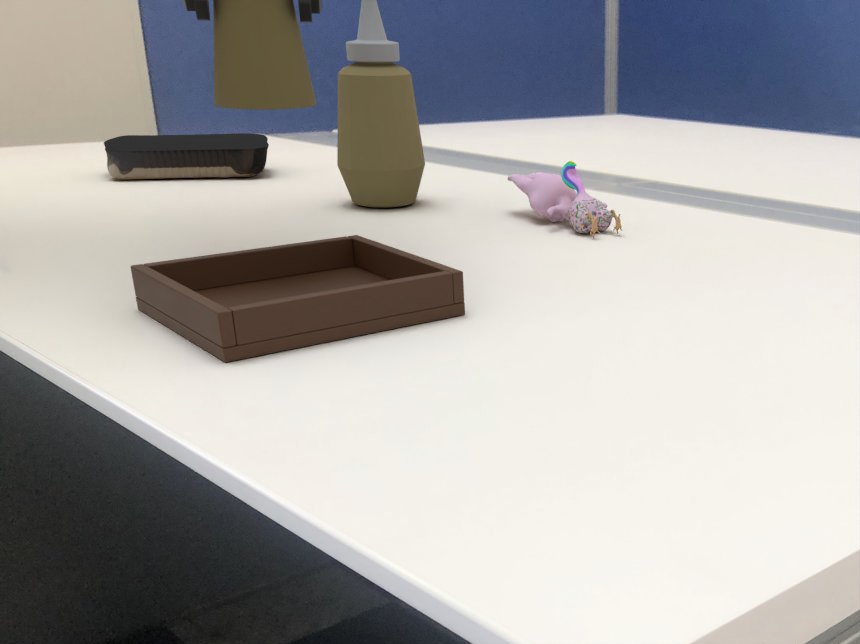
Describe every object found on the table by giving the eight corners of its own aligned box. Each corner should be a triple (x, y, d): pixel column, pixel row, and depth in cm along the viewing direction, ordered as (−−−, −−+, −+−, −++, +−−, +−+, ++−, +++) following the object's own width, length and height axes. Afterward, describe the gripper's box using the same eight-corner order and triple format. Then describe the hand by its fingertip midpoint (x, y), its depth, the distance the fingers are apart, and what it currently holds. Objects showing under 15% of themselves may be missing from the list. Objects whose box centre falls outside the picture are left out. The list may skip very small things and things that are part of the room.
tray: (225, 362, 58) (217, 313, 57) (137, 309, 67) (129, 265, 66) (465, 314, 68) (463, 271, 66) (360, 273, 77) (357, 234, 75)
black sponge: (272, 167, 120) (268, 133, 119) (268, 178, 113) (263, 142, 111) (117, 169, 116) (110, 134, 115) (101, 182, 109) (94, 145, 107)
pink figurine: (634, 247, 92) (543, 193, 102) (642, 180, 89) (547, 130, 99) (574, 256, 89) (486, 199, 98) (581, 186, 86) (488, 134, 95)
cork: (193, 106, 64) (162, -102, 59) (249, 97, 69) (225, -94, 64) (284, 111, 62) (260, -101, 58) (334, 102, 68) (316, -93, 63)
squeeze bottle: (445, 202, 103) (434, -2, 95) (387, 215, 96) (370, -2, 89) (382, 193, 106) (367, -4, 99) (322, 205, 100) (301, -5, 93)
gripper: (94, -270, 62) (105, -44, 56) (348, -249, 66) (380, -36, 60) (122, -155, 68) (134, 56, 63) (350, -142, 73) (380, 58, 67)
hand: (254, 10), depth 62 cm, fingers closed on cork, 5 cm apart
